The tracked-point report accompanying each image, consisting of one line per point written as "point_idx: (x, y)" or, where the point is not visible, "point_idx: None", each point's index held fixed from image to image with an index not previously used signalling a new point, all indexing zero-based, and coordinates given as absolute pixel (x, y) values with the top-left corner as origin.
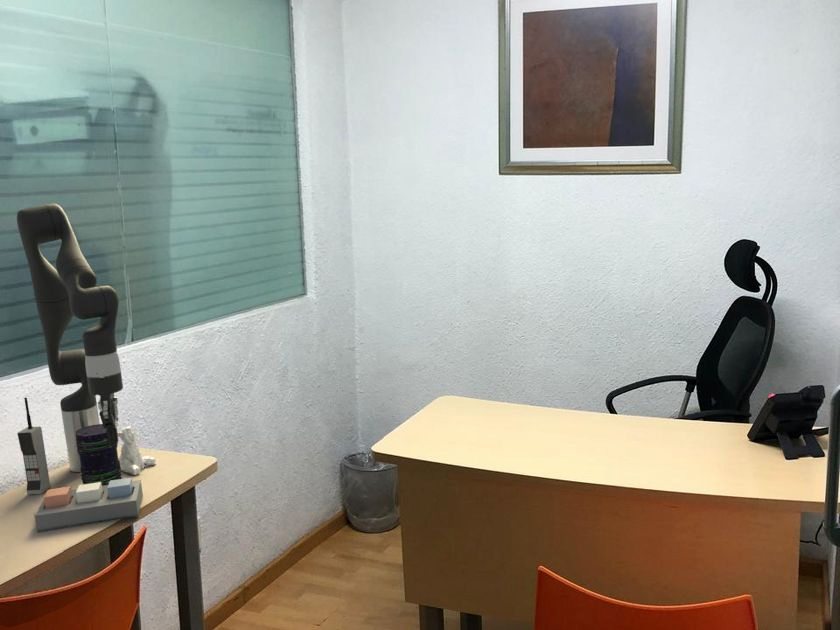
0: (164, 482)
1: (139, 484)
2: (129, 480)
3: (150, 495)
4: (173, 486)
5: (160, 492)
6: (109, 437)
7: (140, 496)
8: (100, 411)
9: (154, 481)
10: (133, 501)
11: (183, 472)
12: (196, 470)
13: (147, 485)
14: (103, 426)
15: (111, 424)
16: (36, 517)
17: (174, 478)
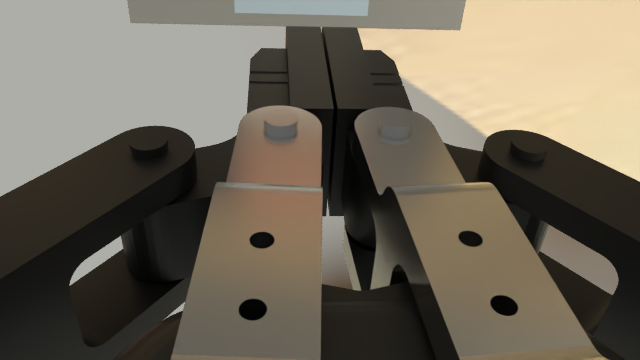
0: (557, 87)
1: (388, 26)
2: (315, 6)
3: (417, 33)
4: (475, 125)
5: (431, 75)
6: (250, 85)
7: None
8: (178, 331)
9: (608, 43)
10: (129, 7)
11: (629, 157)
12: None
13: (574, 12)
14: (72, 161)
15: (126, 262)
16: None
17: (579, 126)
